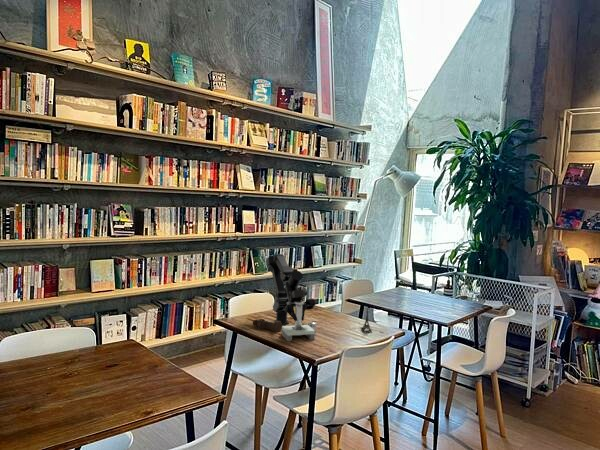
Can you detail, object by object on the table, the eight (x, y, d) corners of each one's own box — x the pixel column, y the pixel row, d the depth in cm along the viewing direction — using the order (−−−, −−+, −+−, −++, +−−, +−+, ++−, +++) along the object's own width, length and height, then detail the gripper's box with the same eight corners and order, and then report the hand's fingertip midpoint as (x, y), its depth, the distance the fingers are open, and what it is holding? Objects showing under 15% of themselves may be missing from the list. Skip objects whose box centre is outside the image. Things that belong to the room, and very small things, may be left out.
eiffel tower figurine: (385, 334, 217) (386, 307, 216) (372, 337, 210) (374, 310, 210) (362, 326, 228) (363, 301, 227) (349, 330, 221) (350, 304, 221)
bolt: (254, 329, 221) (280, 334, 213) (249, 326, 217) (275, 331, 209) (258, 318, 223) (283, 322, 215) (253, 315, 219) (278, 319, 211)
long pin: (293, 332, 208) (295, 300, 207) (303, 333, 207) (304, 301, 206) (292, 335, 203) (293, 302, 203) (302, 336, 203) (303, 303, 202)
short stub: (306, 331, 214) (306, 321, 214) (315, 331, 216) (315, 321, 215) (309, 334, 210) (309, 324, 210) (318, 333, 211) (318, 324, 211)
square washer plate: (281, 334, 208) (281, 326, 208) (307, 332, 212) (307, 324, 212) (287, 341, 199) (287, 332, 198) (314, 339, 203) (314, 330, 202)
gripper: (278, 283, 204) (284, 312, 195) (315, 282, 211) (323, 310, 201) (272, 296, 212) (278, 325, 203) (308, 294, 219) (316, 322, 209)
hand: (299, 320), depth 204 cm, fingers closed on long pin, 3 cm apart
